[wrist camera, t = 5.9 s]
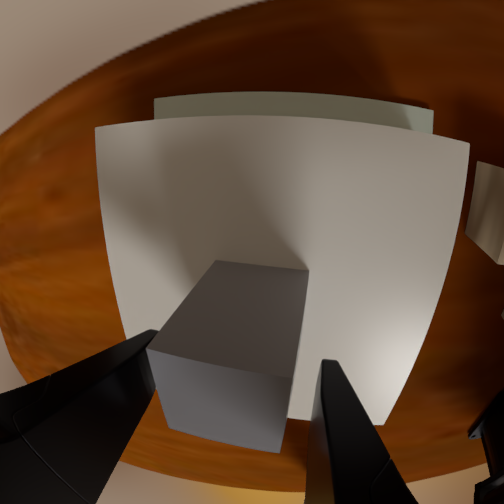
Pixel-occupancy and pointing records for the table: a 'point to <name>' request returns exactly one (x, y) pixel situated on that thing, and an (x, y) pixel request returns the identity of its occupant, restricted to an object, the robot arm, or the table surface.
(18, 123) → the table surface
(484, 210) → the token cube
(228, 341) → the cover
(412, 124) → the mat
